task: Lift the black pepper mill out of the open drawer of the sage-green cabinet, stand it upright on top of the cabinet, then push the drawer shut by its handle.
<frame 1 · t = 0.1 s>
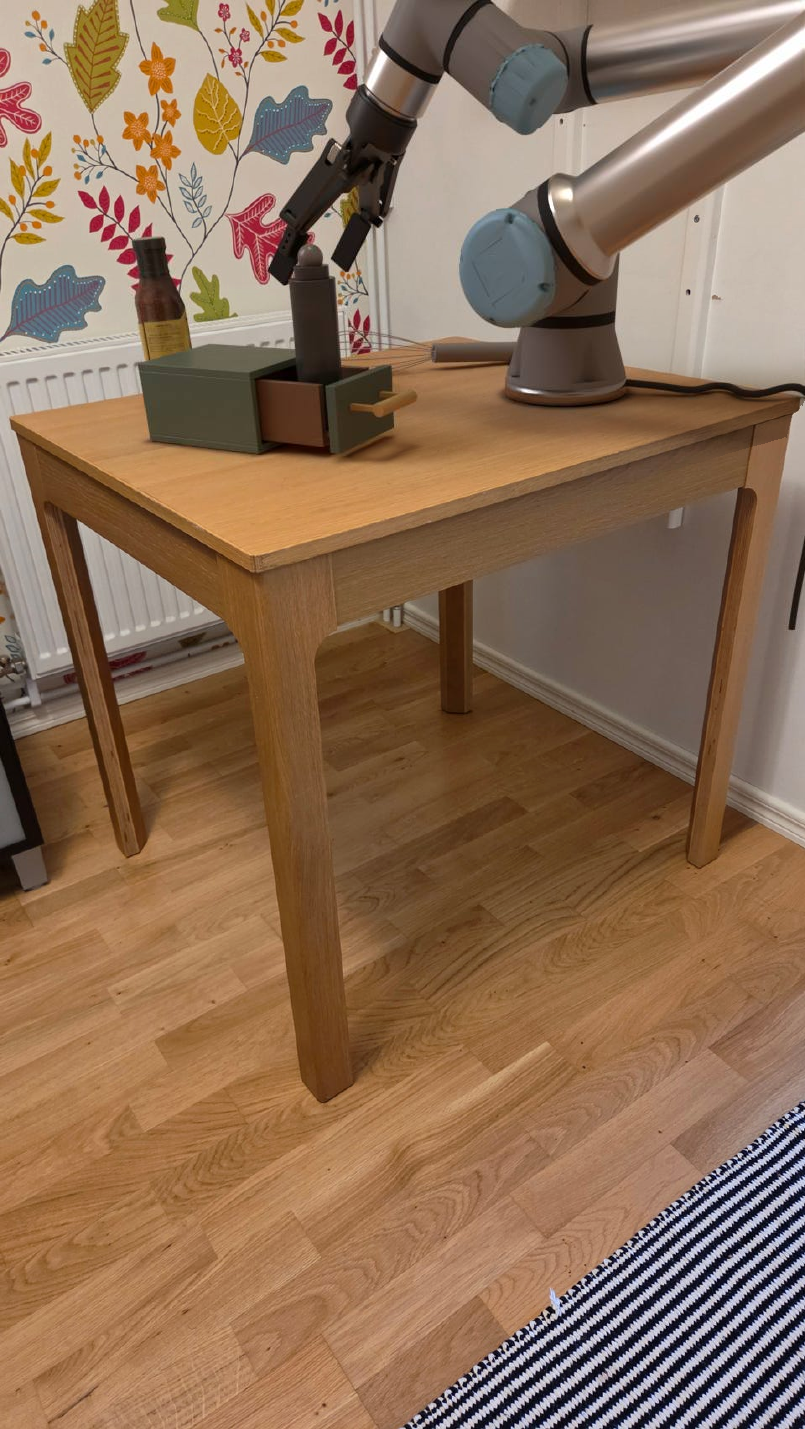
hand: (309, 271, 122), 15 cm above the table, tool tilted 35°, fingers open, 13 cm apart
drawer: (326, 405, 108), point 4 cm above the table, slide at 9.0 cm, touching pepper mill
cabinet: (237, 433, 116), on the table
pepper mill: (323, 425, 109), point 2 cm above the table, touching drawer
kitchen whisk: (429, 371, 144), on the table
sauce bottle: (176, 404, 131), on the table
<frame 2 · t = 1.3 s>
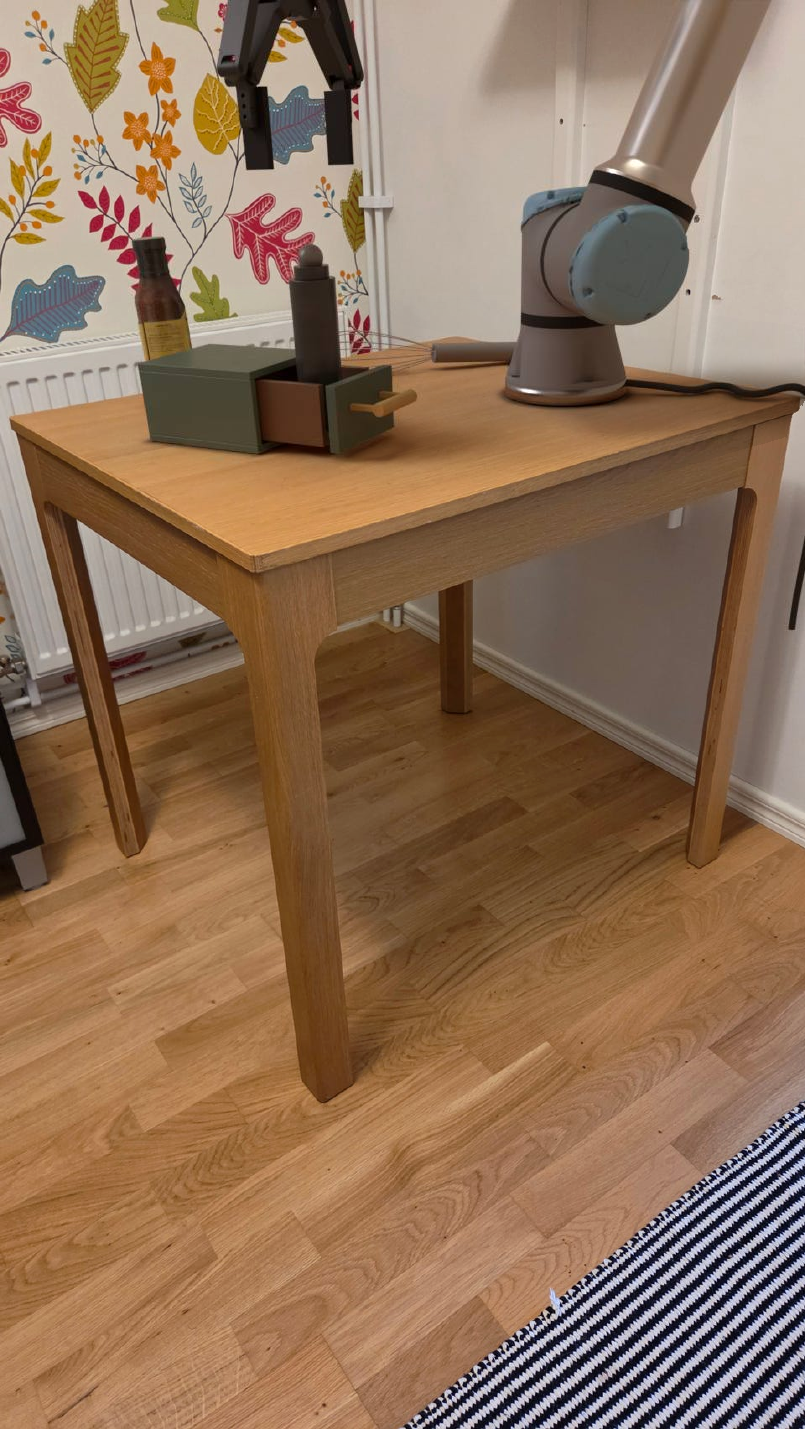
hand: (302, 168, 97), 27 cm above the table, tool pointing down, fingers open, 13 cm apart
nothing on the table moved.
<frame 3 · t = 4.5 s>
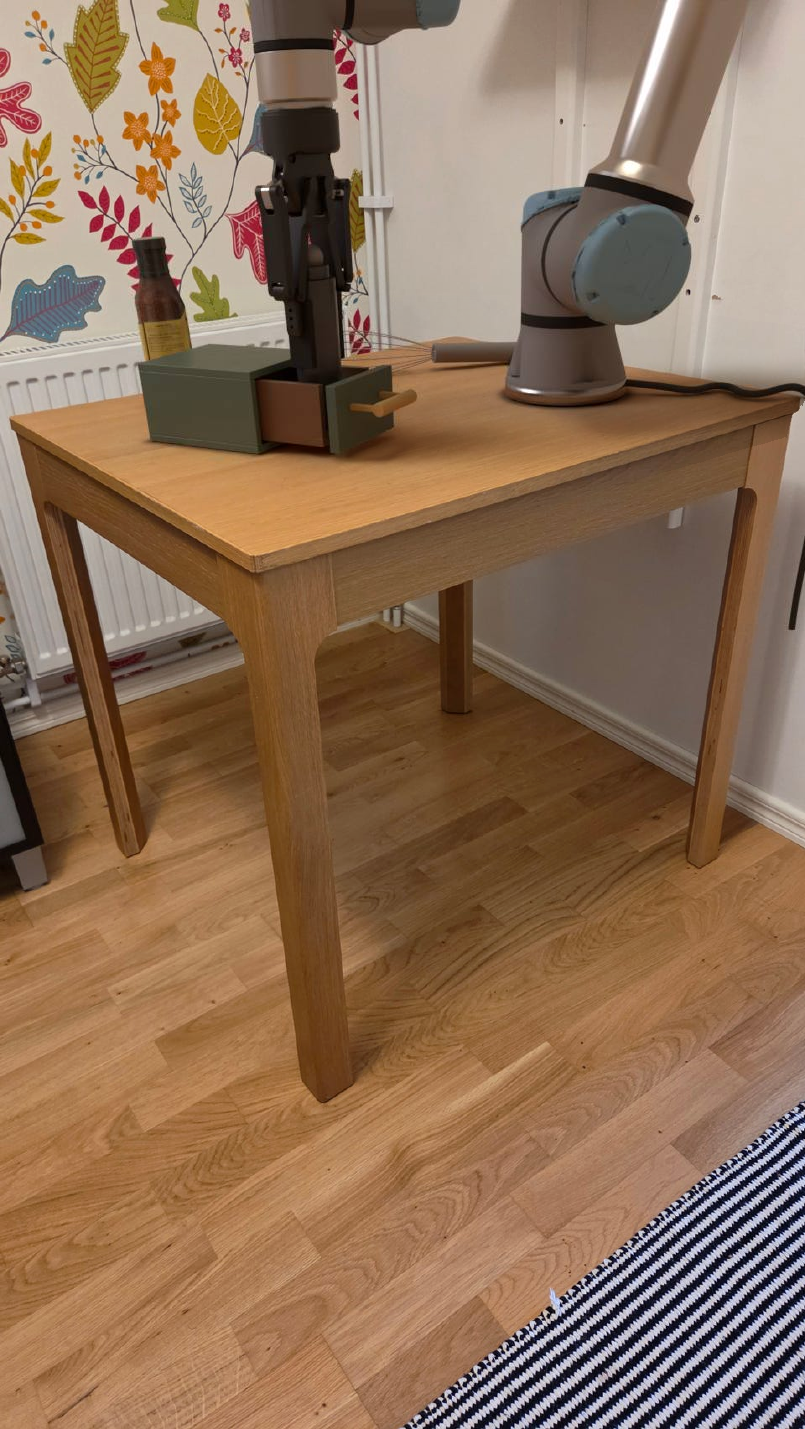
hand: (318, 362, 106), 9 cm above the table, tool pointing down, fingers closed on pepper mill, 5 cm apart
pepper mill: (323, 425, 109), point 2 cm above the table, touching drawer, gripper
everything else where it was.
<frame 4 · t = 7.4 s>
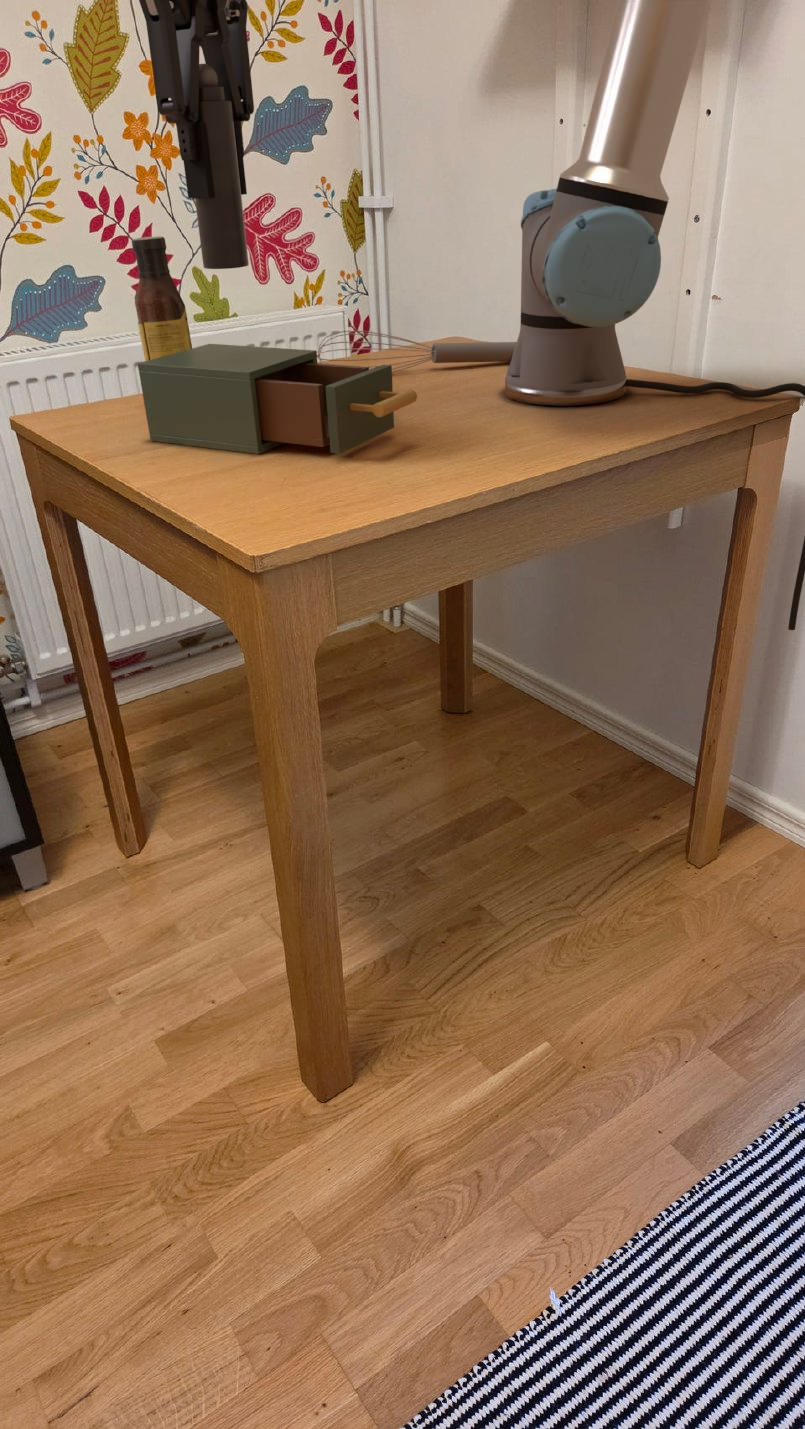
hand: (218, 195, 103), 25 cm above the table, tool pointing down, fingers closed on pepper mill, 5 cm apart
drawer: (326, 404, 108), point 4 cm above the table, slide at 9.0 cm
pepper mill: (226, 266, 106), point 18 cm above the table, touching gripper
everything else where it was.
when the fingers open (15 cm above the table, at t = 10.5 s): pepper mill stays where it is, resting on cabinet.
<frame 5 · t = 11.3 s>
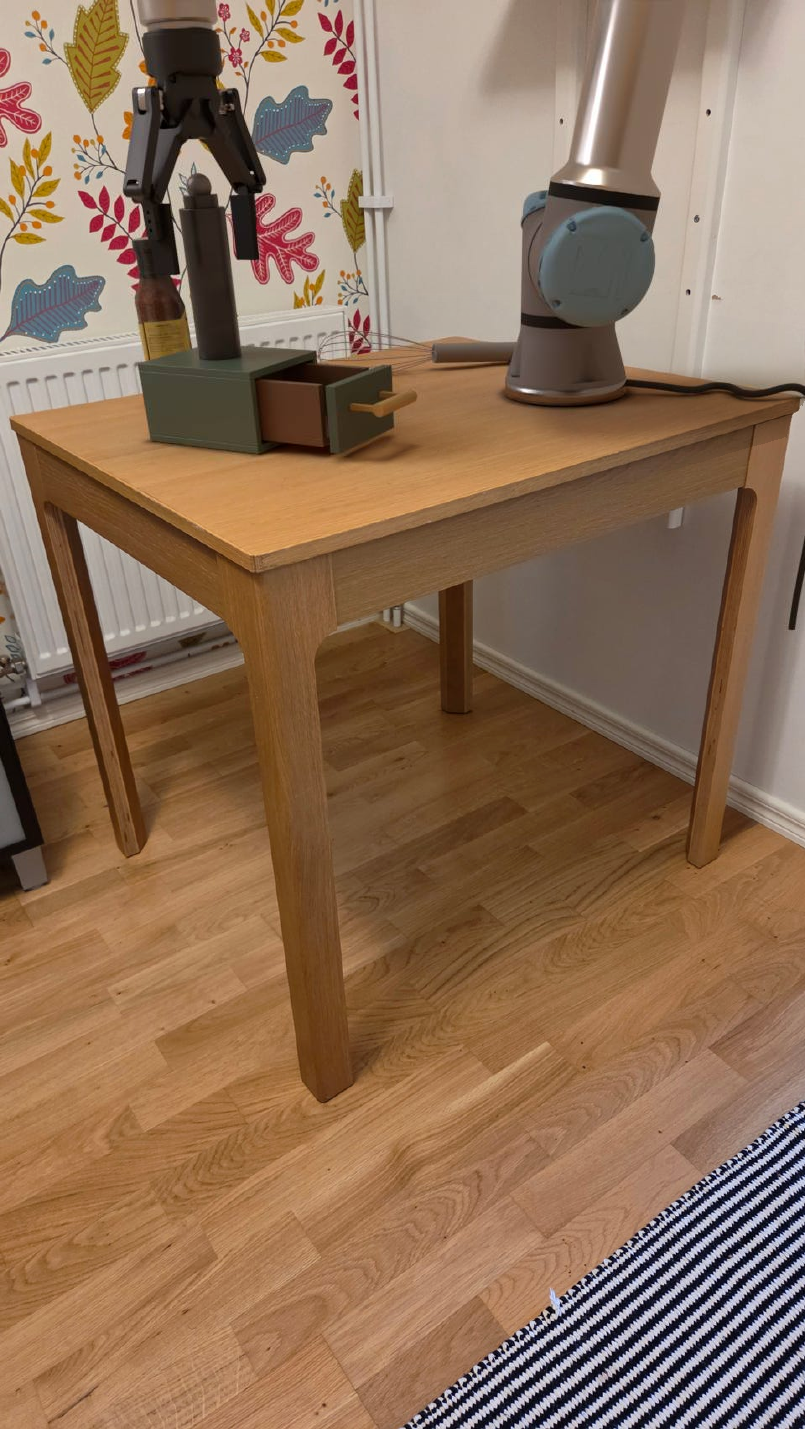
hand: (210, 267, 107), 18 cm above the table, tool pointing down, fingers open, 13 cm apart
pepper mill: (220, 356, 112), point 9 cm above the table, touching cabinet
everything else where it was.
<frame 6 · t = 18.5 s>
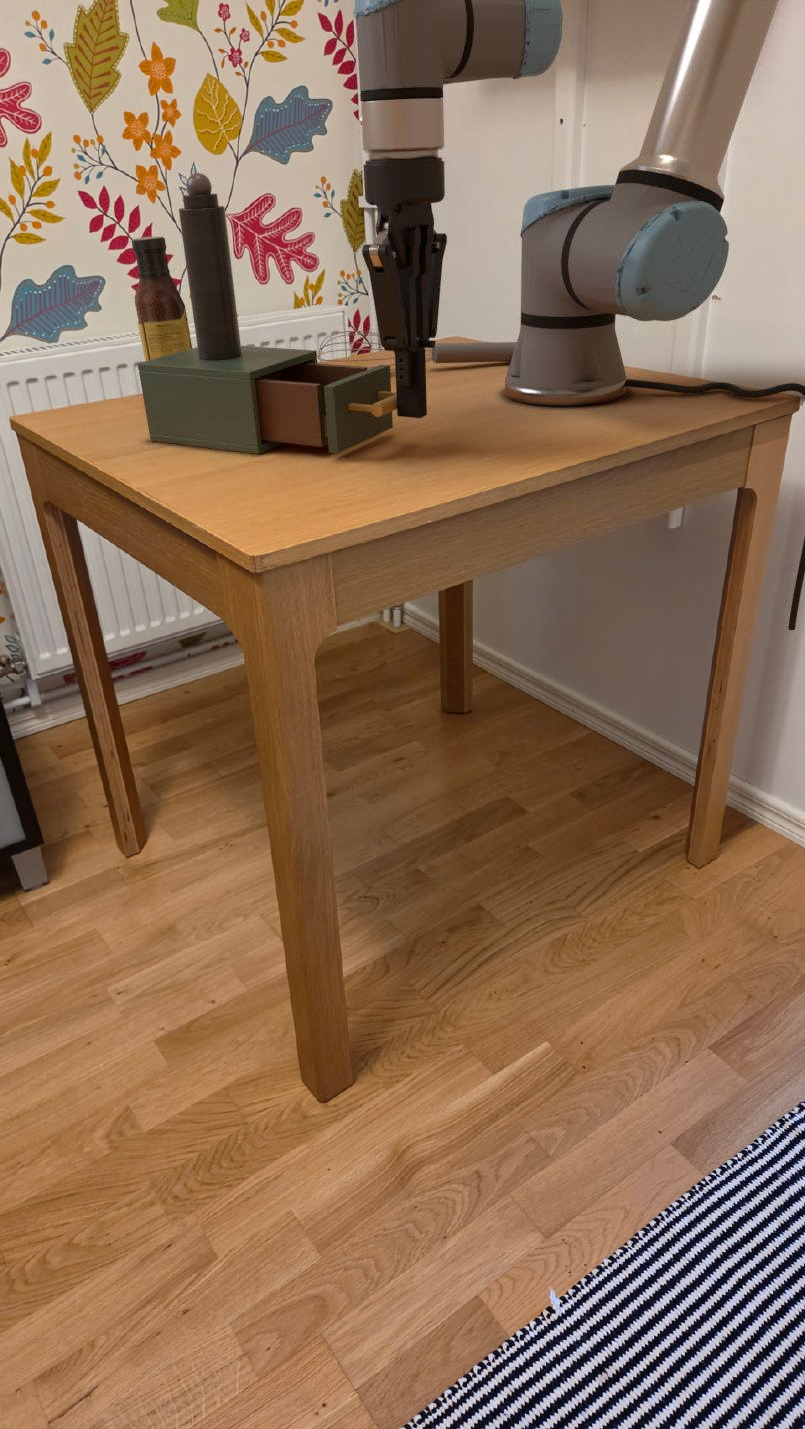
hand: (412, 415, 103), 4 cm above the table, tool pointing down, fingers closed
drawer: (325, 404, 108), point 4 cm above the table, slide at 8.8 cm, touching gripper
everything else where it was.
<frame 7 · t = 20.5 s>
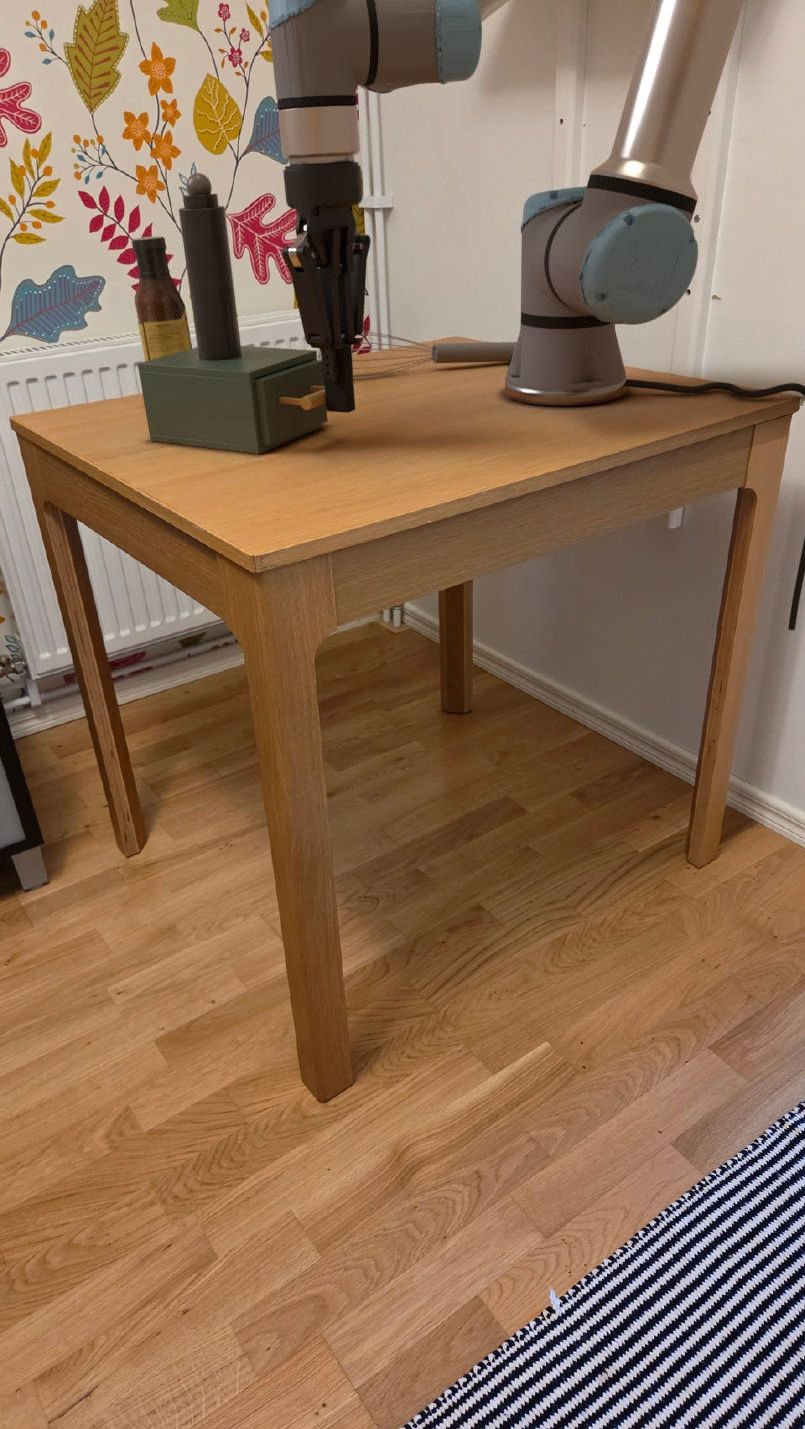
hand: (341, 410, 107), 4 cm above the table, tool pointing down, fingers closed
drawer: (260, 398, 112), point 4 cm above the table, slide at 0.0 cm, touching cabinet, gripper
everything else where it was.
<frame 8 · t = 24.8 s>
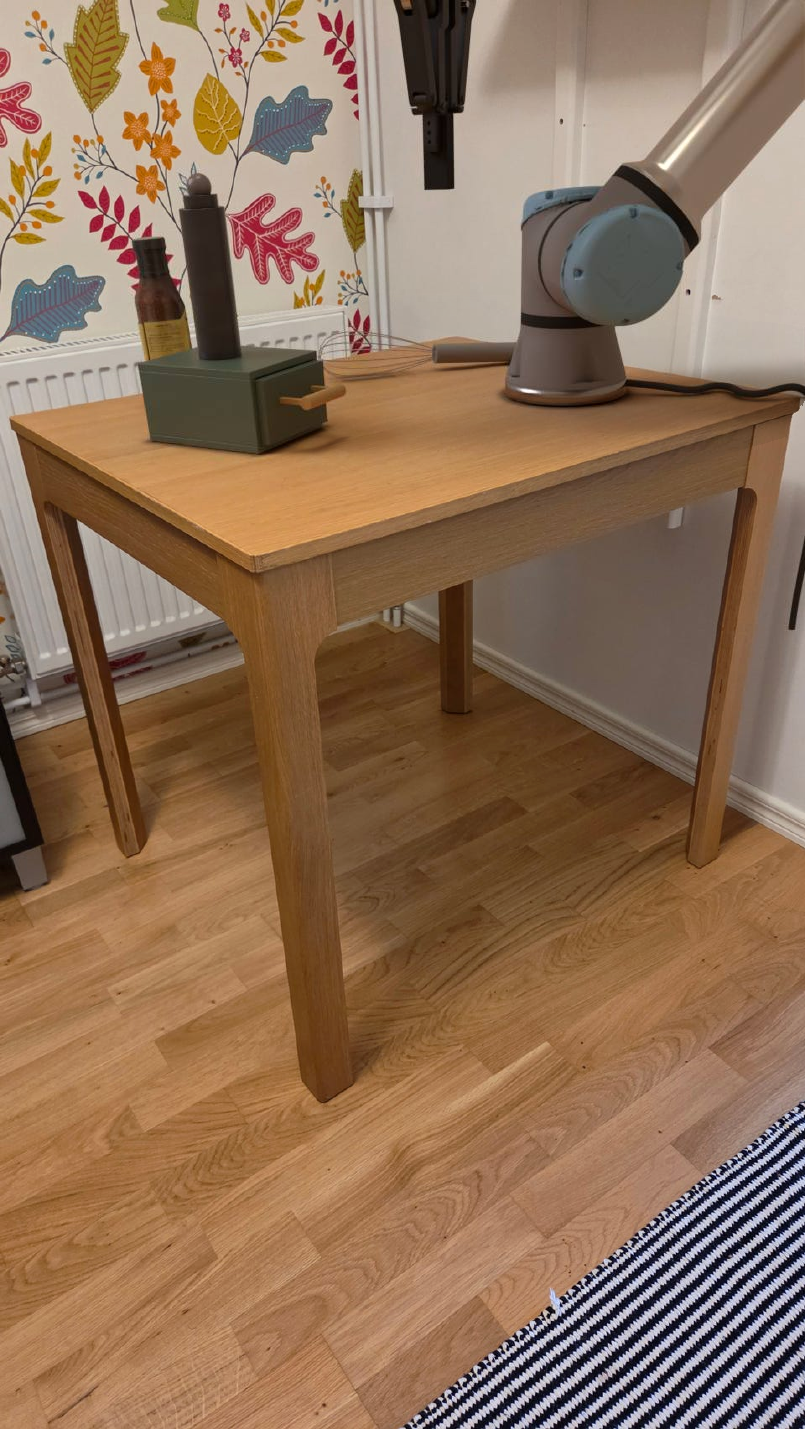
hand: (439, 189, 101), 24 cm above the table, tool pointing down, fingers closed
drawer: (260, 398, 112), point 4 cm above the table, slide at 0.0 cm
everything else where it was.
at the end: pepper mill inside the target area on the cabinet (0.4 cm from its centre), point 8.6 cm above the cabinet's base; pepper mill tilted 0°; drawer slide at 0.0 cm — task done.
